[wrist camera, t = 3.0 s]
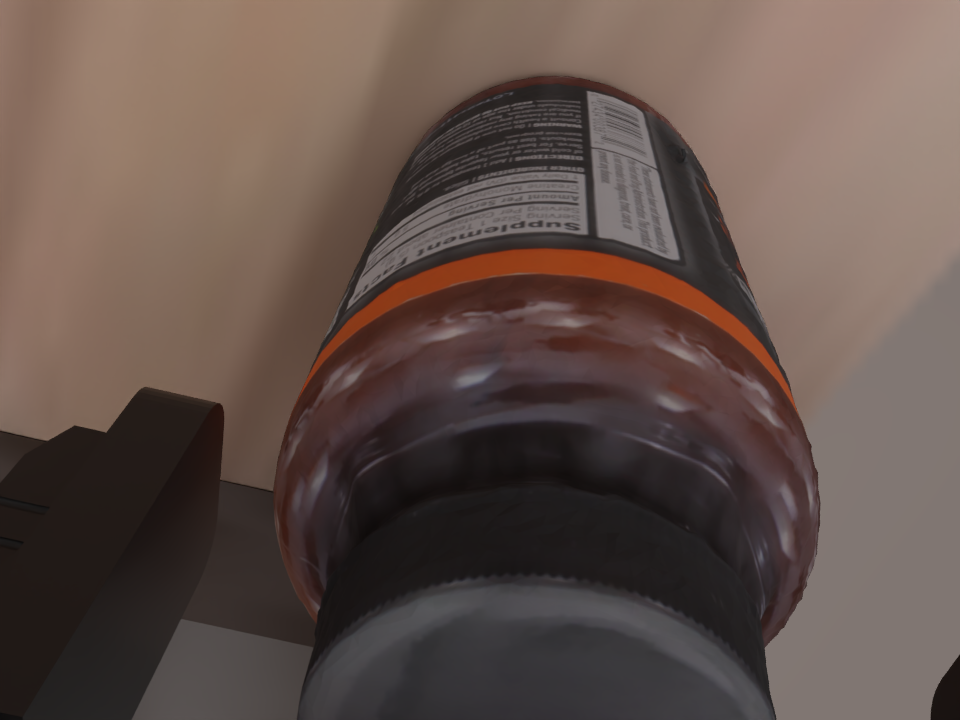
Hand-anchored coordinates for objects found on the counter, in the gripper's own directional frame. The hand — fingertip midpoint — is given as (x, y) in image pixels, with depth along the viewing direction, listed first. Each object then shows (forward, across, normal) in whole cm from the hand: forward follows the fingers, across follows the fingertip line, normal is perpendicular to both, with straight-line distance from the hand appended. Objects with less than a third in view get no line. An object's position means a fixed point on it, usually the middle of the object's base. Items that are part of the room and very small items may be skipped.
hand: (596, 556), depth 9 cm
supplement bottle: (+9, +1, 0) cm, 9 cm away
